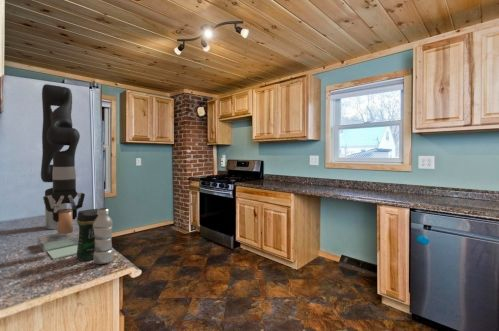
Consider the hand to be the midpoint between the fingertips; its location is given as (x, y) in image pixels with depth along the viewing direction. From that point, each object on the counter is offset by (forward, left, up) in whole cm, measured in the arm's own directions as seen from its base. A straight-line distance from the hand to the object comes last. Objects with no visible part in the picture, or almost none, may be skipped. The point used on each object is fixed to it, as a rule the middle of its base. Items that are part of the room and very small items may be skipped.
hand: (65, 220), depth 105 cm
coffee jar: (+12, +6, -13) cm, 19 cm away
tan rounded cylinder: (0, 0, -5) cm, 5 cm away
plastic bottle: (+21, +7, -13) cm, 26 cm away
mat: (0, 0, -13) cm, 13 cm away
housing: (-12, 0, -13) cm, 18 cm away
